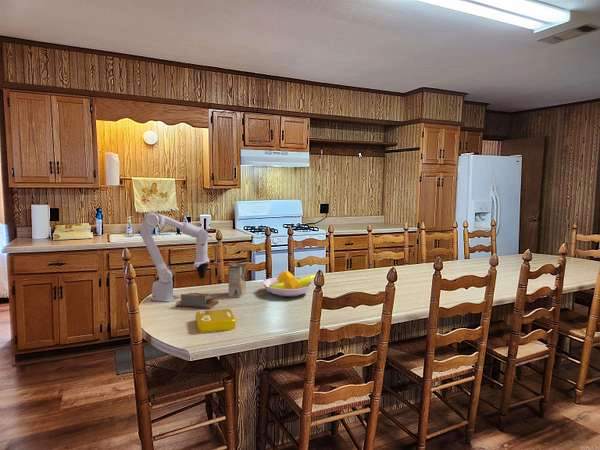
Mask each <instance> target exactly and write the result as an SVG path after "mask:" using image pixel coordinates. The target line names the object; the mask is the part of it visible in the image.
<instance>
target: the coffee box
mask: <svg viewBox="0 0 600 450" xmlns="http://www.w3.org/2000/svg"><path fill="white" fill-rule="evenodd" d="M246 265H247V264H246V263H240V262H239V263H237V262H235V263H232V264H231V265H229V266H228V298H239V299H240V298H242V296H244V295H245V294H246V291H247V289H246V286H247V285H246V284H247V283H246V282H247V281H246V280H247V278H246V276H247V275H246V270H247V269H246V268H247V267H246Z"/></svg>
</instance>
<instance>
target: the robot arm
mask: <svg viewBox="0 0 600 450" xmlns="http://www.w3.org/2000/svg"><path fill="white" fill-rule="evenodd" d="M158 225H159V226H160V225H167V226H170V227H174V228H176V229H177V230H180V232H181V234H185V235H187V236H190V237H192V238H195V239H196V240H195V241H196V243H195V262H194V263H193V268H195V269H196V270H197V274H198V277H199V279H205V276H206V273H207V272H206V271H207V270H208V268H209V264H210V257H208V256H209V255H208V250H209V249H208V239H209V232H208V231H207V230H206V229H205V228H203V227H201V226H197V225H195V224H193V223H192V222H190V221H189V222H187V221H186V222H184V223H183V222H180V221H178V220H176V219H174V218H171V217H169V216H167V215H163V214H160V213H157V212H155V211H148V212H147V213H145V214H144V216H143V218H142V222H141V226H140V231H139V233H140V234H139V235H140V237H141V239H142V241H143V243H144V245H145V247H146V248H147V252H148V253H149V255H150V257H151V260H152V262H153V264H154V266H155V268H156V270H157V276H158V279H157V280H156V281H154V282H153V283H152V287H151V298H152V299H151V301H153V302H154V301H156V302H166V303H167V302H171V301H172V300H174V299H175V298H177V296H176V295H174V281H173V272H172V271H171V269H170V268H169V267H168V266H167V264H166V263H165V260H164V258H163V257H162V254H161V252H160V249H159V248H158V246H157V243H156V242H155V239H154V237H153V235H152V233H153V230H154V229H155V227H157V226H158Z"/></svg>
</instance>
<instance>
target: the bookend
mask: <svg viewBox="0 0 600 450" xmlns="http://www.w3.org/2000/svg"><path fill="white" fill-rule="evenodd" d="M180 302H181V306H182V305H184V307H183V306H182V307H181V308H188V307H186V305H187V306H189V307H190V306H193V307H194V306H195V308H193V307H192V308H191V307H190V308H188V309H199V308H200V307H201V308H202V307H206V296H201V295H189V294H188V293H185V294H184V293H181V294H180ZM196 306H198V307H199V308H196ZM201 308H200V309H199V310H205V309H204V308H203V309H201Z"/></svg>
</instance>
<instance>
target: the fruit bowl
mask: <svg viewBox="0 0 600 450" xmlns="http://www.w3.org/2000/svg"><path fill="white" fill-rule="evenodd" d="M316 273H317V272H315V273H314V274H311V275H309V276H305V277H298V276H294V274H292V273H291V272H290V271H288V270H282V271H281V272H279V274H278V276H276V277H275V276H274V277H270V278H267V279H265V280H264V281H262V284H263V286H264V288H265V289H266V291H267V292H269V293H271V294H274V295H275V296H278V297H299V296H300V295H303V294H306V293H307V292H310V289H311V288H312V286H313V284H314V282H312V281H313V280H314V279H315V278H316V276H315V274H316Z"/></svg>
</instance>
